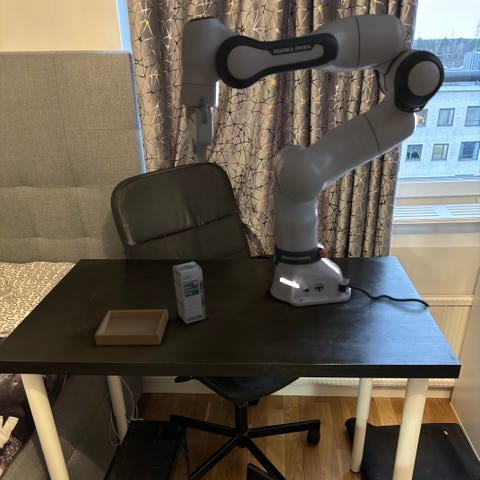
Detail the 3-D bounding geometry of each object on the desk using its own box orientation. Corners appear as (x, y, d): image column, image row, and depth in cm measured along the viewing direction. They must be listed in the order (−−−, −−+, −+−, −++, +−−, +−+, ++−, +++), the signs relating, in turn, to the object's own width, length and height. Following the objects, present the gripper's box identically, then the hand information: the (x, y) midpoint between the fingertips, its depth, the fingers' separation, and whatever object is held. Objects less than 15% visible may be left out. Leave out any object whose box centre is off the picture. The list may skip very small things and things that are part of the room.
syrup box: (186, 324, 127) (180, 273, 120) (177, 315, 132) (172, 264, 125) (206, 318, 130) (202, 267, 122) (197, 309, 134) (193, 260, 127)
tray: (168, 318, 131) (167, 309, 129) (159, 344, 120) (158, 334, 118) (110, 319, 131) (108, 310, 130) (96, 345, 120) (94, 335, 119)
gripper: (220, 103, 108) (218, 167, 115) (206, 93, 125) (205, 150, 132) (191, 101, 107) (190, 167, 113) (181, 92, 124) (181, 149, 131)
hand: (198, 157), depth 123 cm, fingers open, 8 cm apart
